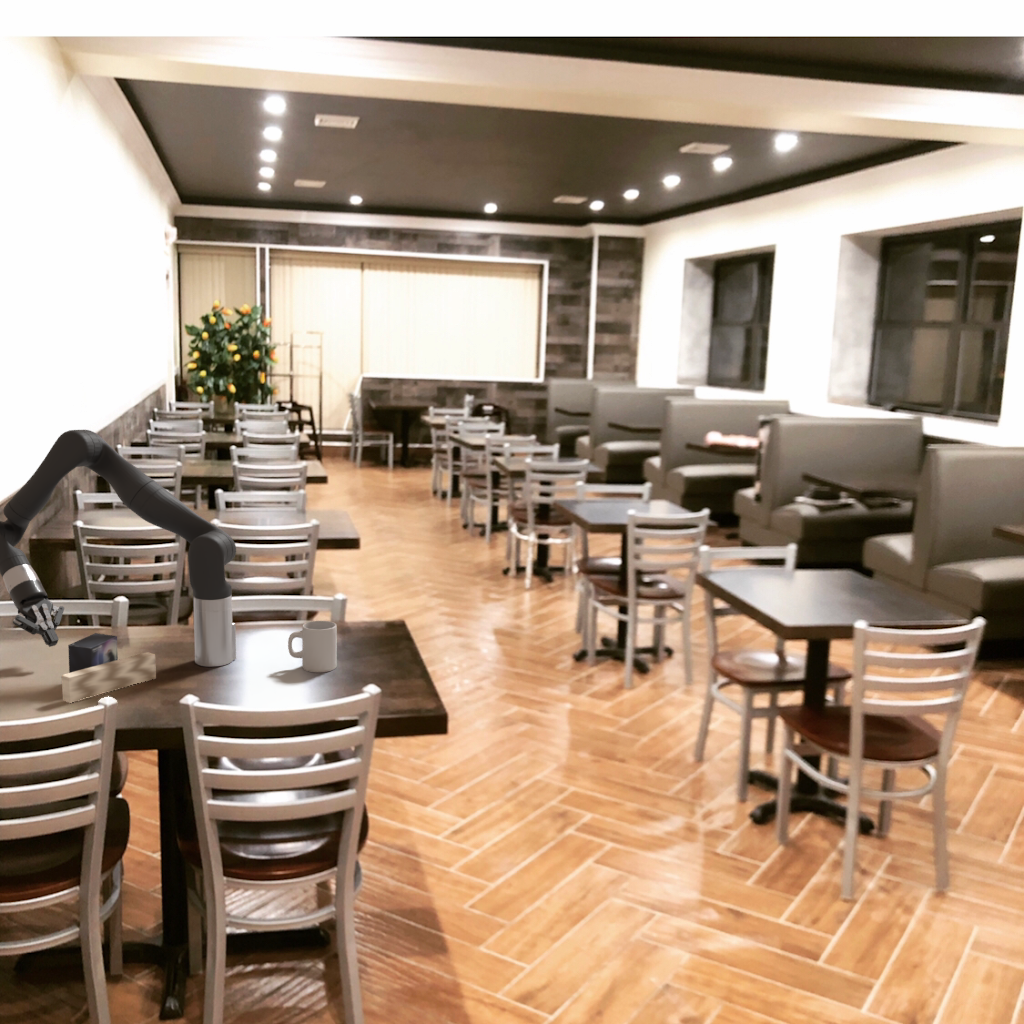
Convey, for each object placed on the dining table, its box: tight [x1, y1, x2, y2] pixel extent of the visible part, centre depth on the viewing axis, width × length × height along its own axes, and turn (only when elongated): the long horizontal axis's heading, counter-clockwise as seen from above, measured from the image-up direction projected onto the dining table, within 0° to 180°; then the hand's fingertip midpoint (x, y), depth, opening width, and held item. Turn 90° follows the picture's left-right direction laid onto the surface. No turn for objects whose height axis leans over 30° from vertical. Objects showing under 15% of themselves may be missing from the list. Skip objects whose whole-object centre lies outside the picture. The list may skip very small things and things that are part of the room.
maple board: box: [61, 651, 157, 704], centre depth 233 cm, size 22×3×6 cm, turn 144°
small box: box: [68, 632, 119, 673], centre depth 237 cm, size 11×6×10 cm, turn 168°
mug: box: [287, 620, 338, 673], centre depth 252 cm, size 12×8×11 cm
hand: (53, 644), depth 246 cm, fingers closed
